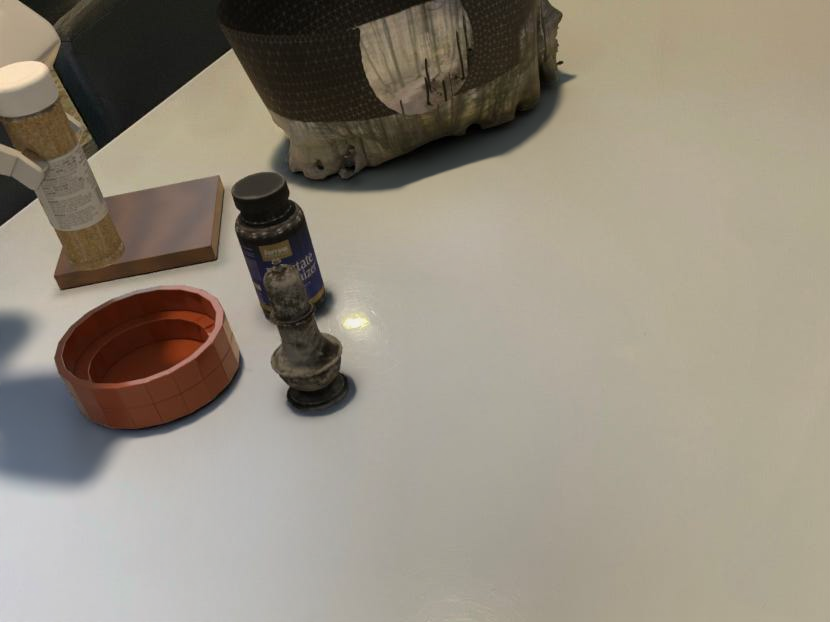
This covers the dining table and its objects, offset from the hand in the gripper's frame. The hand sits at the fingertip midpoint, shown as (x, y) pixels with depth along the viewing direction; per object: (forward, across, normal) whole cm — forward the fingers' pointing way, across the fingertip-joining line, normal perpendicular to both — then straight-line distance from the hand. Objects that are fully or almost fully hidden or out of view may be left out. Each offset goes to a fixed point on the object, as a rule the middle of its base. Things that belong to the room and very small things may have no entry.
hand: (61, 159), depth 69 cm
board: (+5, -24, -22) cm, 33 cm away
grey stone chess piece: (+24, +2, -3) cm, 24 cm away
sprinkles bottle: (+5, 0, -6) cm, 8 cm away
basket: (+23, -46, -4) cm, 51 cm away
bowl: (+13, 0, -14) cm, 19 cm away
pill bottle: (+20, -11, -7) cm, 24 cm away
